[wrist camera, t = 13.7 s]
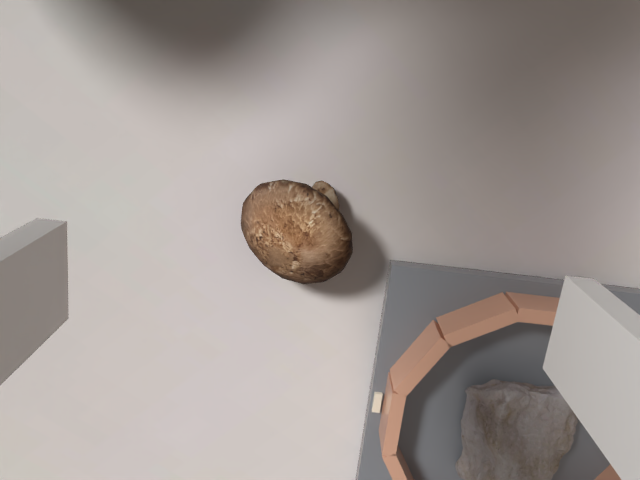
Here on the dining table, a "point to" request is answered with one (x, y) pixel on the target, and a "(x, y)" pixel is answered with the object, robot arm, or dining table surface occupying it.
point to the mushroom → (297, 230)
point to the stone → (514, 431)
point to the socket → (459, 366)
